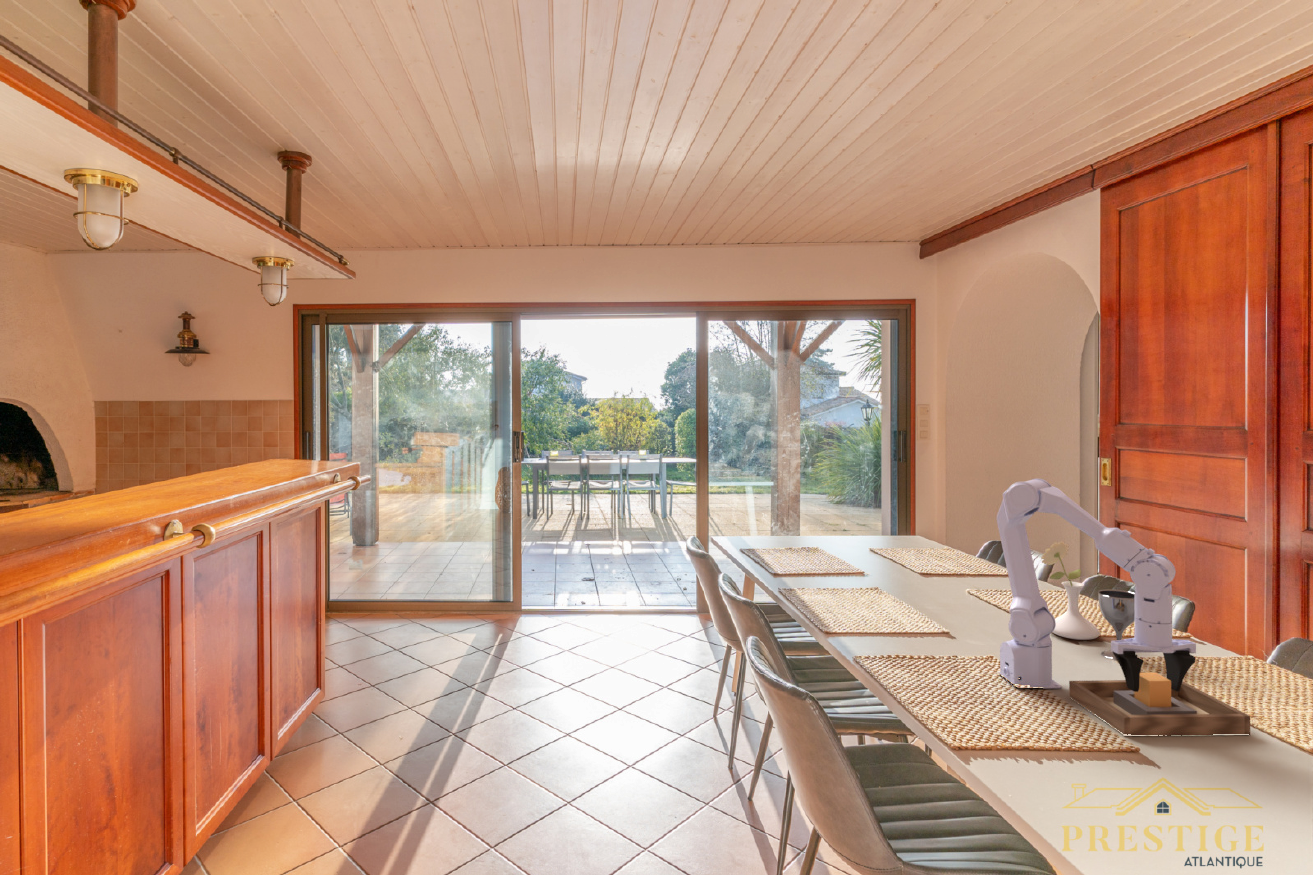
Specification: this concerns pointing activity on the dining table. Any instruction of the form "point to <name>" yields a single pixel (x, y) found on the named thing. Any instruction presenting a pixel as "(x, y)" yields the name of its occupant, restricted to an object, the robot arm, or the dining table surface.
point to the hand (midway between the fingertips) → (1153, 689)
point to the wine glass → (1117, 612)
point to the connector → (1154, 690)
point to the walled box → (1206, 722)
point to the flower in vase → (1069, 599)
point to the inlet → (1138, 708)
